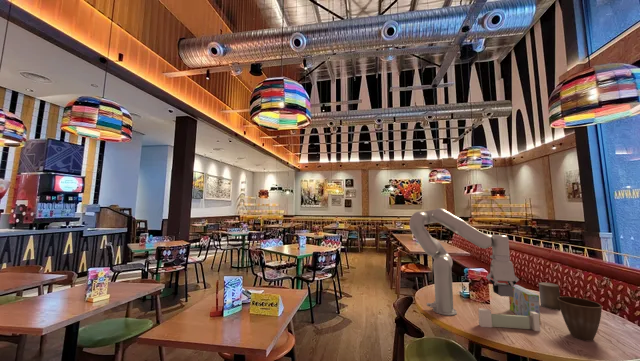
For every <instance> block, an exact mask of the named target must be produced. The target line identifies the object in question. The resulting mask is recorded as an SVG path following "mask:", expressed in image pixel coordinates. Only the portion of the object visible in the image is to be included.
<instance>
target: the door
mask: <svg viewBox="0 0 640 361" xmlns="http://www.w3.org/2000/svg"><path fill="white" fill-rule="evenodd" d="M491 317H492V328H493V327H497V328H509V329H524V330H533V329H532V319H531V316H529V315H527V316H519V315H517V314H515V315H514V314H502V313H491Z"/></svg>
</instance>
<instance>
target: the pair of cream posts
mask: <svg viewBox="0 0 640 361" xmlns="http://www.w3.org/2000/svg"><path fill="white" fill-rule="evenodd" d="M477 310H478V325H479V326H480V328H481V327H482V328H493V326H492V317H491V314H492V311H491V309H489V308H478V309H477ZM530 316H531V319H532V329H531V330H532V331H534V332H541V325H540V323H541V319H540V320H539V314H538V313H536V312H531V311H530Z"/></svg>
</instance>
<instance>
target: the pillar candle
mask: <svg viewBox="0 0 640 361" xmlns="http://www.w3.org/2000/svg"><path fill="white" fill-rule="evenodd" d="M538 288H539V289H538V291H539V304H540V306H541V307H542V308H545V309H549V310H553V311H555V310H556V311H561V310H560V306H559V302H558V297H561V293H560V285H558V284H557V283H556V284H555V283H551V282H544V281H543V282H538Z"/></svg>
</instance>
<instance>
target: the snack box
mask: <svg viewBox="0 0 640 361" xmlns="http://www.w3.org/2000/svg"><path fill="white" fill-rule="evenodd" d="M508 300H509V302H508V303H509V311H511V312H512V313H514V314H515V315H519V316H527V315H529V316H530V311H531V312H536V313H538V314H539V320H540V321H541V309H540V308H541V307H540V306H541V304H540V294H537V293H535V292H534V291H531V290H529V289H527V288H525V287H523V286H521V285H519V284H515V285H514V286H513V297H508ZM540 326H541V322H540Z"/></svg>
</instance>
